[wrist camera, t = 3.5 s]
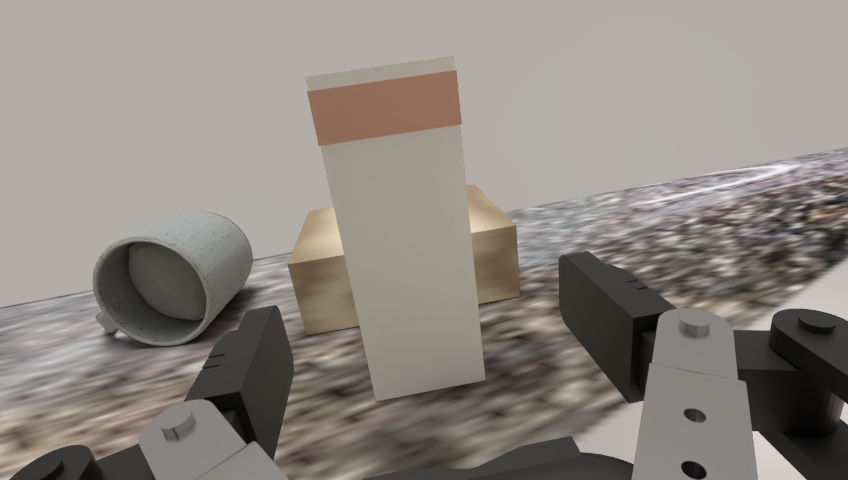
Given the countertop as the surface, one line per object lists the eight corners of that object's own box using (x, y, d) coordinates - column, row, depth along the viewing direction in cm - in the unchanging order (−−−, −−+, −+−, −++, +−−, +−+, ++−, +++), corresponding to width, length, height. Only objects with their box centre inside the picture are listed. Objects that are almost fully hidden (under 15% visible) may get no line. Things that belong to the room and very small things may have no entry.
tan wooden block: (306, 335, 28) (287, 264, 26) (322, 265, 38) (309, 211, 36) (520, 296, 29) (515, 225, 27) (479, 238, 39) (474, 184, 37)
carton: (374, 402, 21) (303, 77, 16) (372, 338, 27) (318, 76, 21) (486, 380, 22) (454, 55, 16) (463, 321, 27) (432, 60, 22)
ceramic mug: (269, 283, 36) (241, 194, 33) (227, 340, 29) (186, 231, 26) (147, 299, 37) (110, 213, 34) (74, 360, 29) (18, 255, 27)
